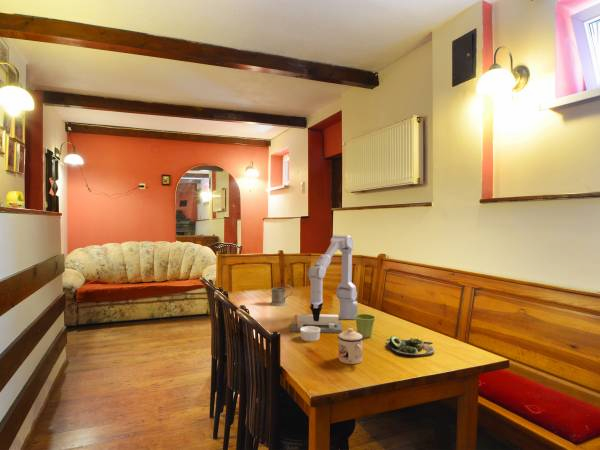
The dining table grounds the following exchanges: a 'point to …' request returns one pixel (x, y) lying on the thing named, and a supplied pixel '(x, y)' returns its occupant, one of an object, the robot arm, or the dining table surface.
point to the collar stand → (323, 328)
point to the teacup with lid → (350, 347)
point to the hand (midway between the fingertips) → (316, 319)
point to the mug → (279, 296)
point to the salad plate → (409, 347)
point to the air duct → (323, 320)
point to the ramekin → (310, 333)
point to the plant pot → (364, 324)
